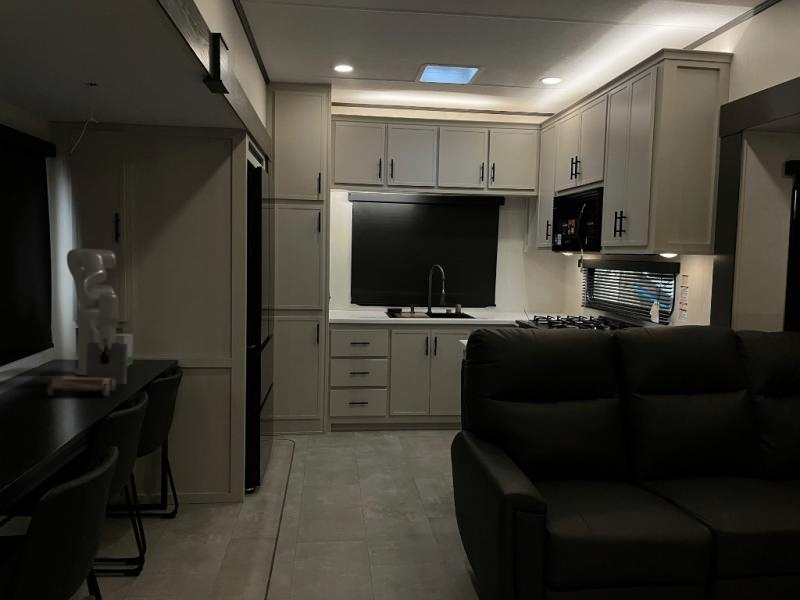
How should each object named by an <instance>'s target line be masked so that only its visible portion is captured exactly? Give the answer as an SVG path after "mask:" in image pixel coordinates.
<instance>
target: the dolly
mask: <svg viewBox="0 0 800 600" xmlns="http://www.w3.org/2000/svg"><path fill="white" fill-rule="evenodd" d="M116 387H117V384H116V379H112V378H94V377H86V376H85V377H84V376H83V377H82V376H81V377H80V376H79V377H75V376H71V377H70V376H69V377H68V376H64V377H60V378H59V377H58V378H52V379H51V382H49V383H48V385H47V389H46V392H47V393H46V394H47V396H48V397H54V396H55V395H56V393H57V392H102V396H103V397H109V396H110V393H111V392H115V391H116V389H117V388H116ZM108 395H109V396H108Z"/></svg>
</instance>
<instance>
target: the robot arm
mask: <svg viewBox="0 0 800 600" xmlns="http://www.w3.org/2000/svg"><path fill="white" fill-rule="evenodd" d="M66 263H67V265H66V266H67V267H68V270H69V273H70V274H71V276H72V278H73V281H74V285H75V291H76V297H77V301H78V303H79V304H81V306H80V307H79V308H78V309H77V310H76V319H77V326H78V354H77V355H78V356H77V357H78V361H77V362H78V364H77V367H78V368H77V369H76V370H74V371H73V372H74V374H75V375H78V376H86V375H87V343H98V349H101V350H100V351H101V352H100V364H108V363H109V354H108V351H109V349H111V348H112V347H113V344H114V342H116V334H117V329H116V327H118V325H119V320H120V312H119V296H118V295H117V294H116V293H115V289H114V288H113V287H112V286H110V285H107V284H106V285H105V284H103V285H102V284H101V283H103V282H105V280H106V279H107V277H108V275H107V271H106V269H113V268H114V267H115V266H116V263H117V257H116V255H115V253H114V251H113V250H110V249H109V250H108V249H98V248H97V249H95V248H73V249H70V250H69V251H68V252H67V254H66ZM97 326H98V327H99V329H98V327H97ZM106 342H107V344H106ZM106 350H107V351H106Z"/></svg>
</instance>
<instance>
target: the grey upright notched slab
mask: <svg viewBox="0 0 800 600" xmlns="http://www.w3.org/2000/svg"><path fill="white" fill-rule="evenodd" d="M106 344H107V342H106ZM100 350H101V349H98V343H87V375H85V377H94V378H112V379H116V385H121V384H123V385H127V384H126V383H127V382H128V380H127V377H128V376H127V374H128V373H127V372H128V368H127V367H128V365H127V343H119V342H114V344H113V347H112V348H111V349H109V351H108V354H109V363H108V364H100V352H101V351H100ZM106 351H107V350H106Z"/></svg>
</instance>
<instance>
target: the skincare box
mask: <svg viewBox="0 0 800 600" xmlns="http://www.w3.org/2000/svg"><path fill="white" fill-rule="evenodd" d="M133 335H134V333H116V342H119V343H127V366H131V365H130V364H132V365H133V347H134V346H133V345H134V344H133V343H134V341H133V339H134V338H133V337H134V336H133Z"/></svg>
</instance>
